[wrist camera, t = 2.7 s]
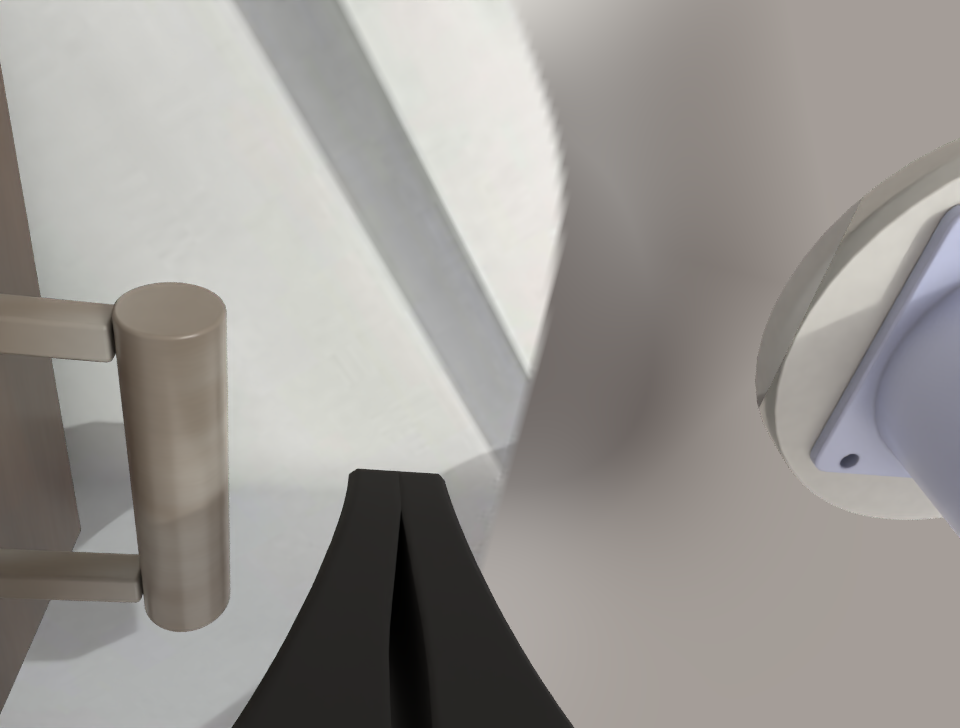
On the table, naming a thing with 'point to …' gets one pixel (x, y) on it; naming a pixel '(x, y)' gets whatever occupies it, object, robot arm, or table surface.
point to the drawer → (149, 439)
